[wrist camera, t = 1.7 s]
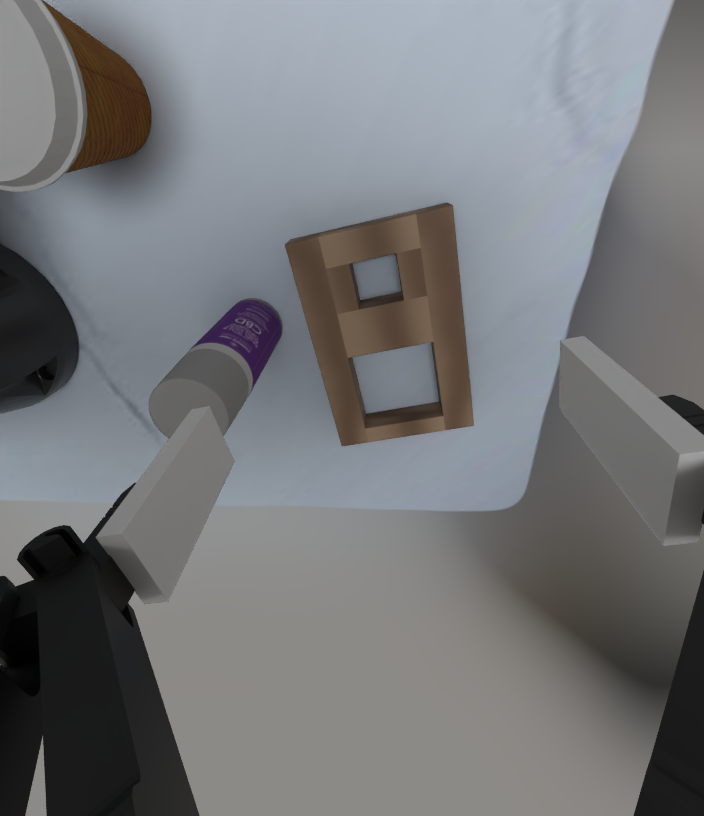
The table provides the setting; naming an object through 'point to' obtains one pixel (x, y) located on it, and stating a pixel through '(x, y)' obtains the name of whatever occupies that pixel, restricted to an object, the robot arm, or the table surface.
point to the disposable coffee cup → (62, 98)
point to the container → (219, 367)
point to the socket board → (386, 317)
